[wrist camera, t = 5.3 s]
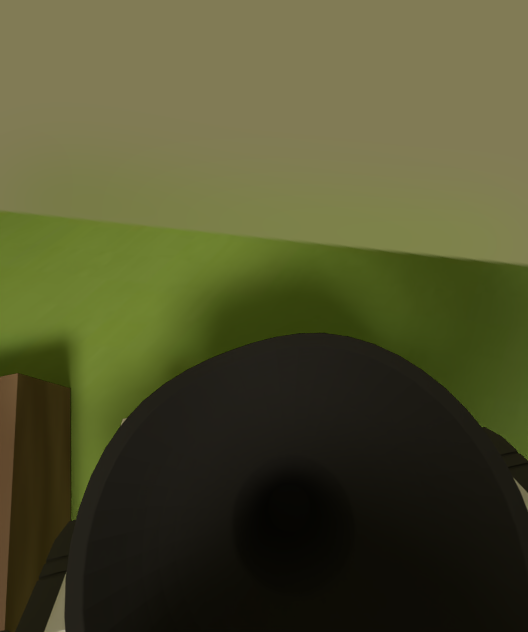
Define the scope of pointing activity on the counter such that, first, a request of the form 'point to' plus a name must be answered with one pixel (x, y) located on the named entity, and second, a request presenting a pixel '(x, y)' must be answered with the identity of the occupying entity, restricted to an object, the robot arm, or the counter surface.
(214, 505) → the pen holder
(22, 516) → the walnut plinth
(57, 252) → the counter surface
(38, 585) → the robot arm
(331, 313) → the counter surface
